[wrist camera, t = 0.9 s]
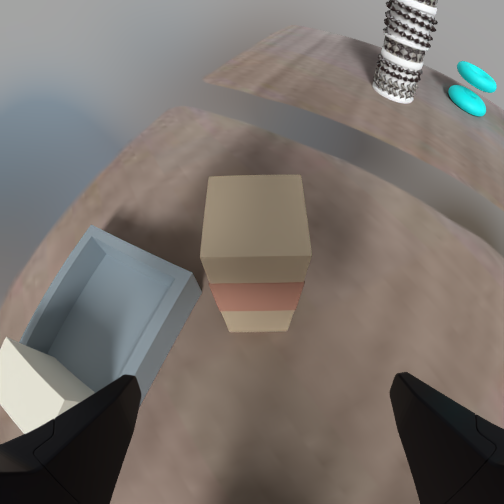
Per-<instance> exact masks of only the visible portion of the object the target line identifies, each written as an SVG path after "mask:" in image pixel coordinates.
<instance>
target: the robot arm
mask: <svg viewBox="0 0 504 504" xmlns="http://www.w3.org/2000/svg"><path fill="white" fill-rule="evenodd" d="M390 399H391V403H392V407H393V412H394V416H395V421H396V425H397V429H398V433H399V436H400V439H401V442H402V445H403V448H404V451H405V454H406V457H407V460H408V463H409V466H410V470H411V473H412V476H413V480H414V483H415V486H416V490H417V493H418V497H419V501H420V504H504V429H502V428H500V427H498V426H496V425H494V424H492V423H490V422H489V421H487V420H485V419H483V418H482V417H480V416H478V415H475V413H473V412H472V411H470V410H468V409H467V408H465V407H463V406H462V405H460V404H458V403H457V402H455V401H453V400H452V399H450V398H448V397H447V396H445V395H444V394H442V393H440V392H439V391H437V390H435V389H434V388H432V387H430V386H429V385H427V384H426V383H424V382H422V381H421V380H419V379H418V378H416V377H414V376H413V375H411V374H410V373H408V372H402V373H397V374H396V375H395V377H394V380H393V383H392V386H391V389H390ZM140 401H141V390H140V387H139V384H138V381H137V378H136V376H134V375H128V374H124V375H122V376H121V377H119V378H118V379H116V380H114V381H113V382H111V383H110V384H108V385H107V386H105V387H104V388H102V389H100V390H99V391H97V392H96V393H94V394H92V395H91V396H89V397H88V398H86V399H84V400H83V401H81V402H80V403H78V404H76V405H75V406H73V407H72V408H70V409H68V410H67V411H65V412H63V413H62V414H60V415H58V416H57V417H55V419H52V420H50V421H48V422H47V423H45V424H43V425H41V426H40V427H38V428H36V429H34V430H32V431H30V432H28V433H26V434H24V435H21V436H19V437H17V438H15V439H12V440H10V441H8V442H6V443H3V444H0V504H110V501H111V498H112V494H113V491H114V488H115V485H116V482H117V479H118V476H119V473H120V470H121V467H122V464H123V461H124V458H125V455H126V452H127V449H128V446H129V444H130V441H131V438H132V435H133V432H134V428H135V423H136V419H137V414H138V410H139V406H140Z"/></svg>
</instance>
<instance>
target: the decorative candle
mask: <svg viewBox="0 0 504 504" xmlns="http://www.w3.org/2000/svg"><path fill="white" fill-rule="evenodd" d="M437 1H438V0H390V1H389V2H386V6H387V7H388V8H390V9H391V10H389V11H387V12H385V14H386V17H387V19H384V21H385V22H384V23H385V24H386V25H387V26H388V27H386V28H384V29H383V30H384V35H385V40H384V46H382V50H381V54H379V55H378V56H379V57H378V58H379V60H380V61H377V66H378V68H376V69H375V75H374V79H373V81H374V82H373V86H372V87H373V88H374V90H375V91H376V92H377V93H379V94H380V95H381V96H383V97H385V98H387V99H389V100H392V101H395V102H398V103H405V104H406V103H411V102H412V101H413V97H414V95H416V93H415V90H416V89H417V88H418V86H417V82H418V81H420V76H419V75H421V74H422V73H423V72H422V66H423V57H424V55H425V51H427V50H429V48H430V47H431V46H430V44H429V43H428V42H427V41H429V40H433V38H432V37H431V36H430V34H429V33H430V31H432V32H434V31H436V29H435V28H434V27H433V26H432V24H433V25H434V24H437V21H436V20H435V19H433V16H434V15H436V12H437V8H436V4H437Z"/></svg>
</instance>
